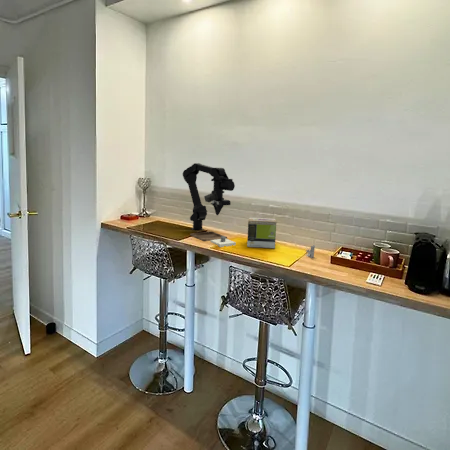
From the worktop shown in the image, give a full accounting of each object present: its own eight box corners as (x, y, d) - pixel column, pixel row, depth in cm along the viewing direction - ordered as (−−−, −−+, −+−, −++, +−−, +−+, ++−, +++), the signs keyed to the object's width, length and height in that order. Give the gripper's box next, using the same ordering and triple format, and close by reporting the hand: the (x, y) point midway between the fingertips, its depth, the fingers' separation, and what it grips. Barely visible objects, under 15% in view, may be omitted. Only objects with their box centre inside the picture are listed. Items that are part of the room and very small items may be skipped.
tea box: (274, 244, 195) (276, 218, 192) (274, 249, 185) (276, 221, 182) (247, 242, 196) (248, 216, 193) (246, 247, 186) (248, 220, 183)
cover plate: (210, 243, 192) (210, 235, 191) (225, 241, 197) (225, 233, 196) (220, 248, 184) (220, 239, 183) (235, 246, 189) (235, 237, 188)
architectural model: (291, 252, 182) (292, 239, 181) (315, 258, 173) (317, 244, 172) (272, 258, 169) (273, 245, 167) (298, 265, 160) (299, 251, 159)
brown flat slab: (190, 236, 204) (190, 233, 204) (211, 233, 213) (211, 231, 213) (204, 242, 192) (204, 239, 191) (226, 239, 200) (226, 236, 200)
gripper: (198, 187, 209) (197, 213, 212) (215, 191, 194) (214, 218, 197) (214, 187, 215) (213, 212, 218) (231, 190, 200) (230, 217, 203)
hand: (217, 215), depth 209 cm, fingers closed
